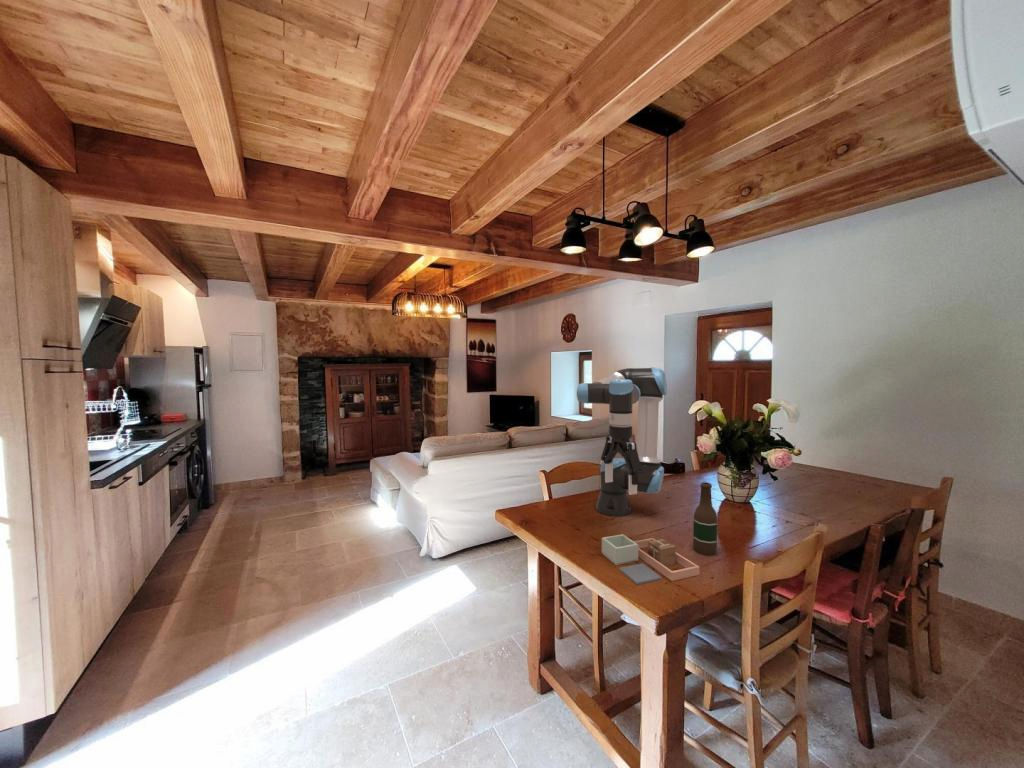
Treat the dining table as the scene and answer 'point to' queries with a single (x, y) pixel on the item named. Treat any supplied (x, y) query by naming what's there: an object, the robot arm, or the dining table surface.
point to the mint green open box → (619, 549)
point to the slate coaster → (640, 573)
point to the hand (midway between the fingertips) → (620, 487)
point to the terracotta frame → (672, 575)
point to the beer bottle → (705, 523)
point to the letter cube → (662, 551)
